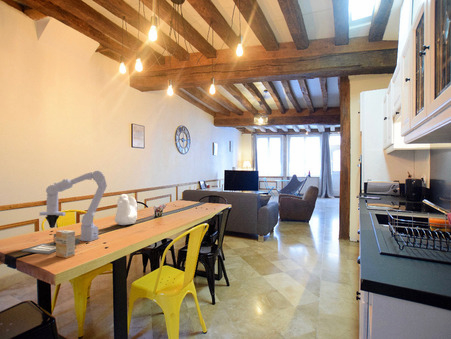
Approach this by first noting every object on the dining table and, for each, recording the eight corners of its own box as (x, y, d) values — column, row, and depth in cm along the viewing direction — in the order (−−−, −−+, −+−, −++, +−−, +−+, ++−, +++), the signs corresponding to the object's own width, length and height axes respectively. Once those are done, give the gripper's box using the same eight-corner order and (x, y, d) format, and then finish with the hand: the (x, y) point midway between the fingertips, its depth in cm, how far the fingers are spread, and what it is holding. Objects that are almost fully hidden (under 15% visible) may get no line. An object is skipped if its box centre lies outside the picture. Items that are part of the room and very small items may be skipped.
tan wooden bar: (51, 243, 142) (51, 234, 142) (58, 241, 145) (58, 233, 145) (72, 247, 135) (72, 238, 135) (79, 245, 139) (79, 236, 138)
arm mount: (62, 243, 145) (62, 242, 145) (55, 245, 141) (55, 244, 140) (56, 242, 146) (56, 241, 146) (49, 245, 141) (49, 243, 141)
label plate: (68, 247, 138) (68, 245, 138) (48, 254, 127) (48, 253, 127) (42, 244, 142) (42, 243, 142) (21, 251, 130) (21, 249, 130)
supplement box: (55, 256, 124) (55, 231, 124) (64, 253, 129) (64, 228, 129) (66, 258, 121) (66, 232, 121) (75, 255, 126) (75, 230, 126)
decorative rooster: (125, 228, 182) (125, 195, 182) (109, 226, 188) (109, 194, 188) (147, 221, 205) (147, 192, 205) (132, 219, 211) (132, 191, 211)
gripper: (68, 204, 148) (68, 226, 149) (45, 203, 149) (45, 225, 149) (60, 206, 141) (60, 229, 142) (36, 205, 142) (36, 228, 142)
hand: (52, 227), depth 145 cm, fingers closed
